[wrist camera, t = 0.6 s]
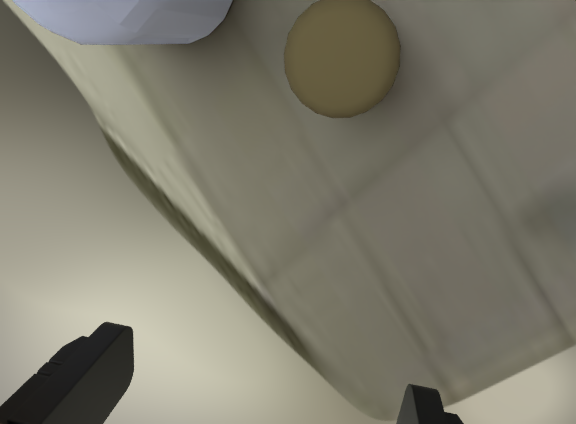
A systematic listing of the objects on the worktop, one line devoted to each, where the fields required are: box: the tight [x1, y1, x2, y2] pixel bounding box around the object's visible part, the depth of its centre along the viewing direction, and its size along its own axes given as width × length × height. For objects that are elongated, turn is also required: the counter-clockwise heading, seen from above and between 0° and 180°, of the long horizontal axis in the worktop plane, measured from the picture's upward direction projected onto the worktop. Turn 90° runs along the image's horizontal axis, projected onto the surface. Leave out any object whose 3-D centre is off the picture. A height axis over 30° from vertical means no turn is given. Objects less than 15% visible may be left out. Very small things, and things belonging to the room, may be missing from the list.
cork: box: [284, 0, 401, 118], centre depth 21 cm, size 6×6×11 cm
